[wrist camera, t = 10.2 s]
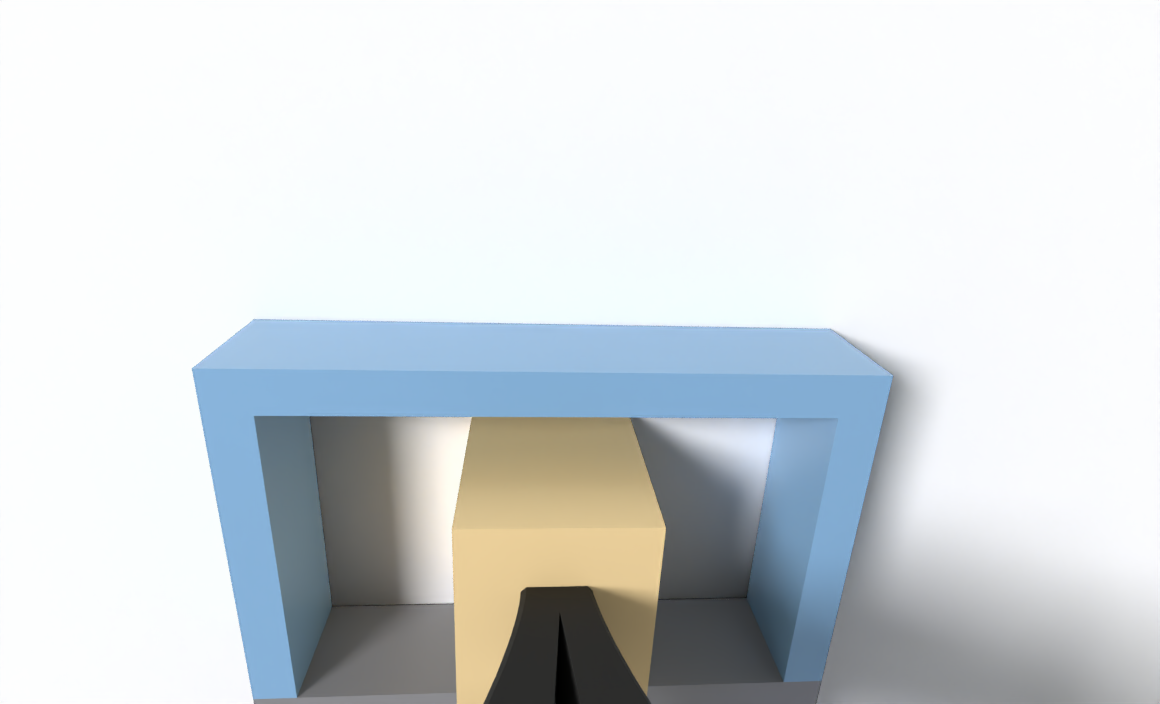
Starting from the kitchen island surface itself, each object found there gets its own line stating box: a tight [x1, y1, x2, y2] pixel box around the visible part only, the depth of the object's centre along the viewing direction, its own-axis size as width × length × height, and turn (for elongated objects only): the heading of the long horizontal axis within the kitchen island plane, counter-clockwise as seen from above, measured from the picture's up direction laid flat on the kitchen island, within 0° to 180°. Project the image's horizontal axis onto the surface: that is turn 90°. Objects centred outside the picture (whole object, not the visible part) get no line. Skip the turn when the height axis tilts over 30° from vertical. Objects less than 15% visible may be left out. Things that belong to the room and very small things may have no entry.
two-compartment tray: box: [192, 319, 893, 704], centre depth 18 cm, size 14×18×3 cm
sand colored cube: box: [452, 417, 666, 704], centre depth 15 cm, size 4×5×5 cm
